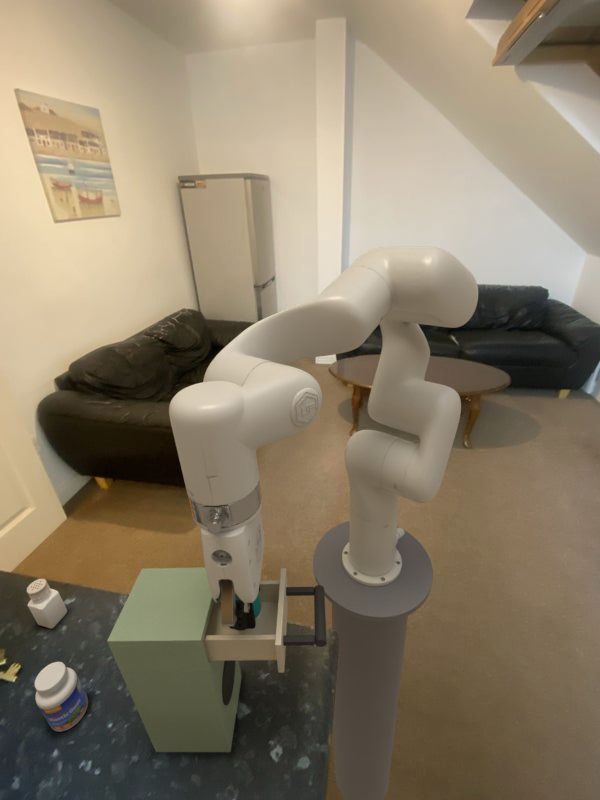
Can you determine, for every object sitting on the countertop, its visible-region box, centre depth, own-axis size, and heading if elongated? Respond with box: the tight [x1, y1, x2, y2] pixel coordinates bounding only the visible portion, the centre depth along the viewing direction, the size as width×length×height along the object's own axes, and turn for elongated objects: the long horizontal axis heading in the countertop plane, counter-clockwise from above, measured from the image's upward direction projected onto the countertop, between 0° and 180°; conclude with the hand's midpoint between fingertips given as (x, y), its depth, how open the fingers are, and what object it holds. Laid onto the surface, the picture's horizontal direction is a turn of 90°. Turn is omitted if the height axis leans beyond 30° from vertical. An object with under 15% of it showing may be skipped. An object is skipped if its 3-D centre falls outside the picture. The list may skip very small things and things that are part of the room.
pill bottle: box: [34, 661, 89, 732], centre depth 57 cm, size 5×5×10 cm
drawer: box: [203, 567, 328, 674], centre depth 48 cm, size 16×10×5 cm, turn 89°
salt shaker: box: [26, 578, 68, 629], centre depth 71 cm, size 4×4×10 cm
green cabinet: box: [106, 566, 242, 753], centre depth 52 cm, size 11×10×26 cm
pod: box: [235, 591, 261, 619], centre depth 47 cm, size 4×4×4 cm
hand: (245, 607), depth 47 cm, fingers closed on pod, 4 cm apart
